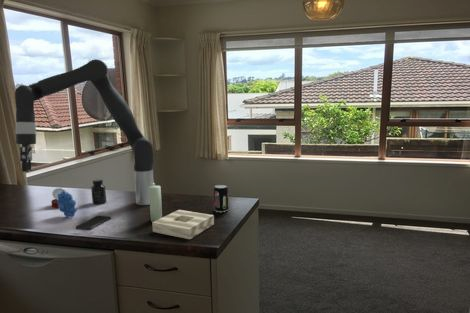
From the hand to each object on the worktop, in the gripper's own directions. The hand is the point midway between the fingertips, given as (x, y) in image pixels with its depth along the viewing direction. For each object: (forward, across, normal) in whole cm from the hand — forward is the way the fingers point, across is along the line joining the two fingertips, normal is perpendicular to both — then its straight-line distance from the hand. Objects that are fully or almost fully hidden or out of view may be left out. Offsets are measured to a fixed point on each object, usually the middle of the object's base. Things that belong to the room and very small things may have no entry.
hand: (26, 170), depth 155 cm
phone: (+23, -10, -27) cm, 37 cm away
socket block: (+23, -32, -61) cm, 73 cm away
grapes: (+22, +4, -15) cm, 27 cm away
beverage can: (+20, -17, -83) cm, 87 cm away
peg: (+22, -17, -52) cm, 59 cm away
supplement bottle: (+19, +22, -30) cm, 41 cm away
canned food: (+20, +25, -12) cm, 34 cm away
